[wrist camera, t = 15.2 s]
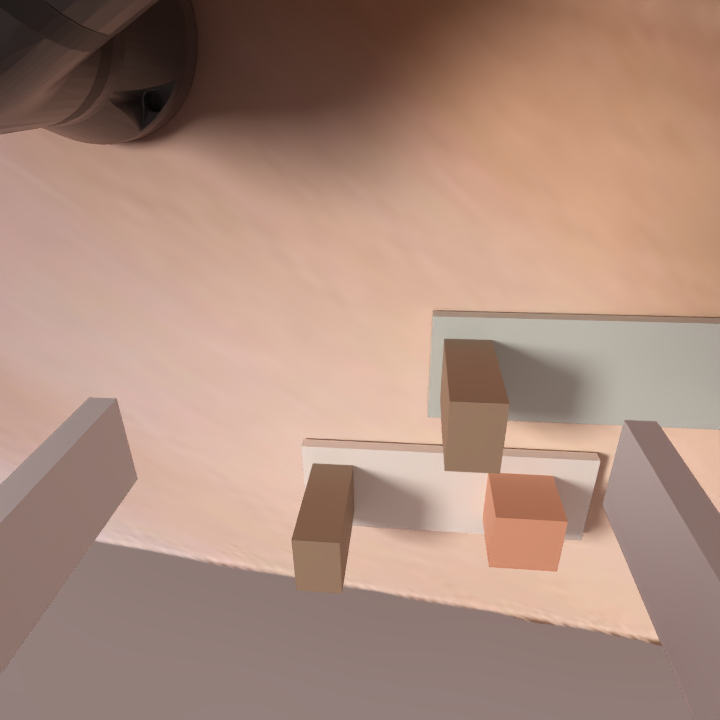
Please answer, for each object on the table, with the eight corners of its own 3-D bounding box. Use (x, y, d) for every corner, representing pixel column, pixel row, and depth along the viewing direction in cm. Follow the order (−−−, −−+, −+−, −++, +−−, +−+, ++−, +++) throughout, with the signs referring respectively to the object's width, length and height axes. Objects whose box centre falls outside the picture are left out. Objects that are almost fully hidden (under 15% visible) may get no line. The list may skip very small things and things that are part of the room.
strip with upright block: (427, 409, 51) (429, 491, 41) (432, 310, 46) (436, 375, 36) (745, 423, 48) (829, 513, 38) (785, 319, 43) (892, 391, 34)
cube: (482, 519, 55) (489, 566, 49) (488, 472, 52) (495, 517, 47) (543, 522, 54) (556, 571, 49) (552, 475, 51) (567, 521, 46)
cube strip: (309, 514, 58) (287, 604, 48) (303, 438, 54) (277, 521, 44) (578, 531, 56) (612, 629, 46) (596, 452, 51) (639, 543, 41)
